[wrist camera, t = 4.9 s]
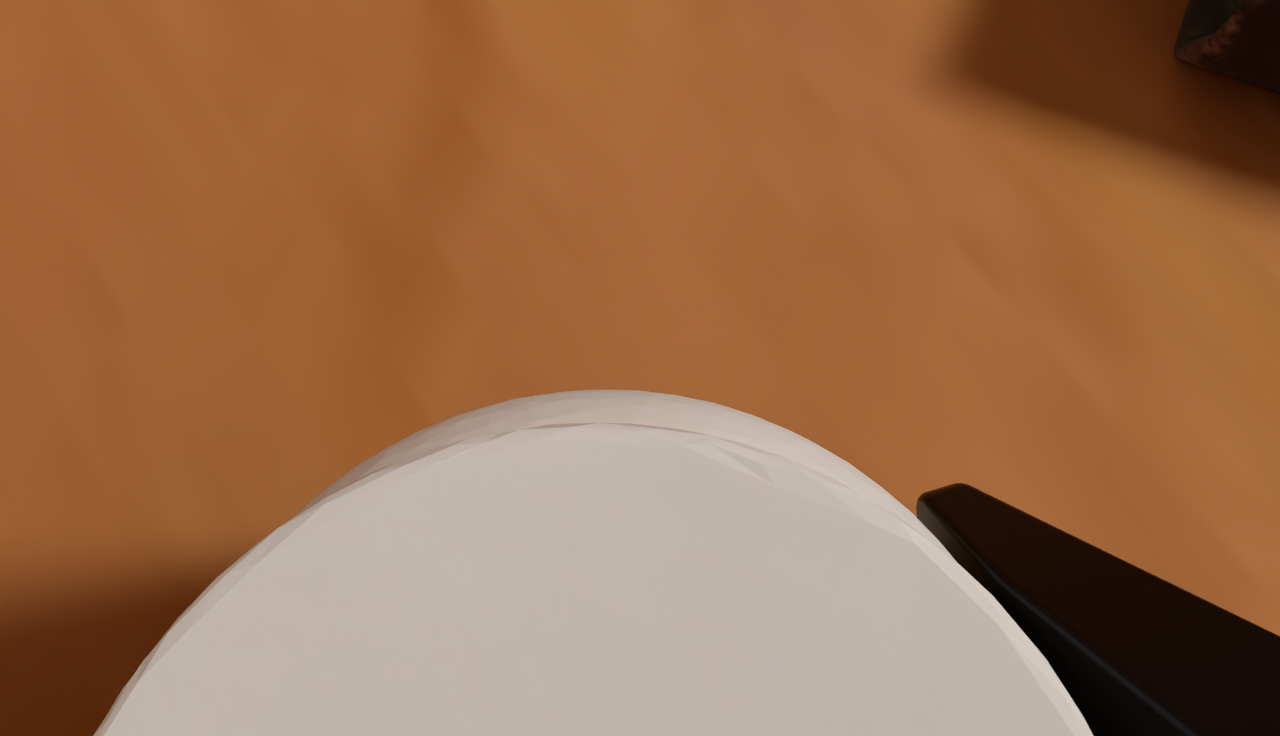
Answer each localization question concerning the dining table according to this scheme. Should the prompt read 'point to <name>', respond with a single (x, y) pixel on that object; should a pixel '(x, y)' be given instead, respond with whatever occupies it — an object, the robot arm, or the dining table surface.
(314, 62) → the dining table surface
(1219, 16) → the diary
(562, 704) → the pill bottle
